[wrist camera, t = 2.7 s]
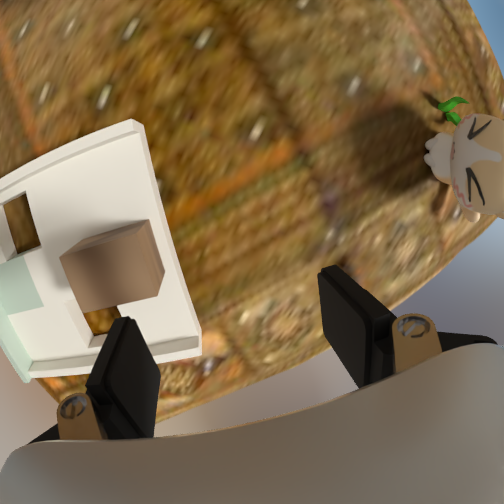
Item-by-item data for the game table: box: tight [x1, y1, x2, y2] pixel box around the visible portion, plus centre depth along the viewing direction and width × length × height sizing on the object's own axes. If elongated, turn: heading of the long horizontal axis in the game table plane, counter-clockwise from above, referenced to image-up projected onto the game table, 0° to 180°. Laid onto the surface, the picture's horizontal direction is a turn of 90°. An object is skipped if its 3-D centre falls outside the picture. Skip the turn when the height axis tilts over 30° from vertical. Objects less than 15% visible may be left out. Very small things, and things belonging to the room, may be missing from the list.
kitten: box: [424, 96, 504, 222], centre depth 22 cm, size 15×10×15 cm
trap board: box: [0, 119, 202, 383], centre depth 23 cm, size 24×22×6 cm
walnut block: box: [59, 219, 165, 313], centre depth 22 cm, size 7×5×5 cm
